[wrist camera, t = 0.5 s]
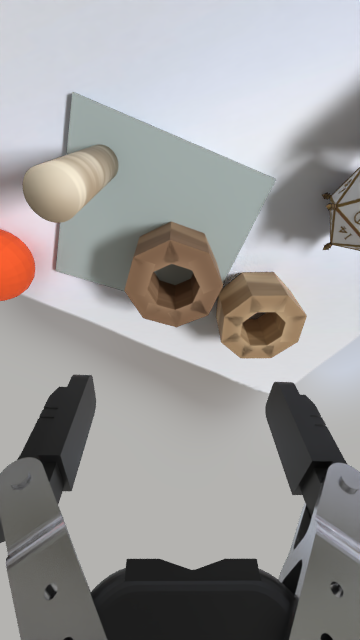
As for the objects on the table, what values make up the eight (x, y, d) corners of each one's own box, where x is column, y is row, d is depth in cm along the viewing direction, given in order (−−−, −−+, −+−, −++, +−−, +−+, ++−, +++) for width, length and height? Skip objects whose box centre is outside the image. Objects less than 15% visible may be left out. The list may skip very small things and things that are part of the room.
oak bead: (220, 272, 31) (226, 296, 27) (296, 272, 31) (313, 295, 27) (214, 331, 36) (219, 358, 32) (279, 330, 36) (292, 357, 32)
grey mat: (74, 92, 21) (72, 91, 21) (274, 178, 25) (276, 179, 25) (57, 268, 30) (55, 271, 30) (206, 312, 34) (206, 315, 34)
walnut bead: (146, 212, 26) (140, 229, 22) (227, 241, 28) (235, 262, 24) (126, 286, 31) (118, 311, 27) (196, 306, 33) (198, 333, 29)
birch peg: (88, 138, 23) (22, 154, 13) (121, 151, 23) (82, 176, 14) (83, 174, 24) (22, 212, 15) (115, 185, 25) (75, 229, 15)
